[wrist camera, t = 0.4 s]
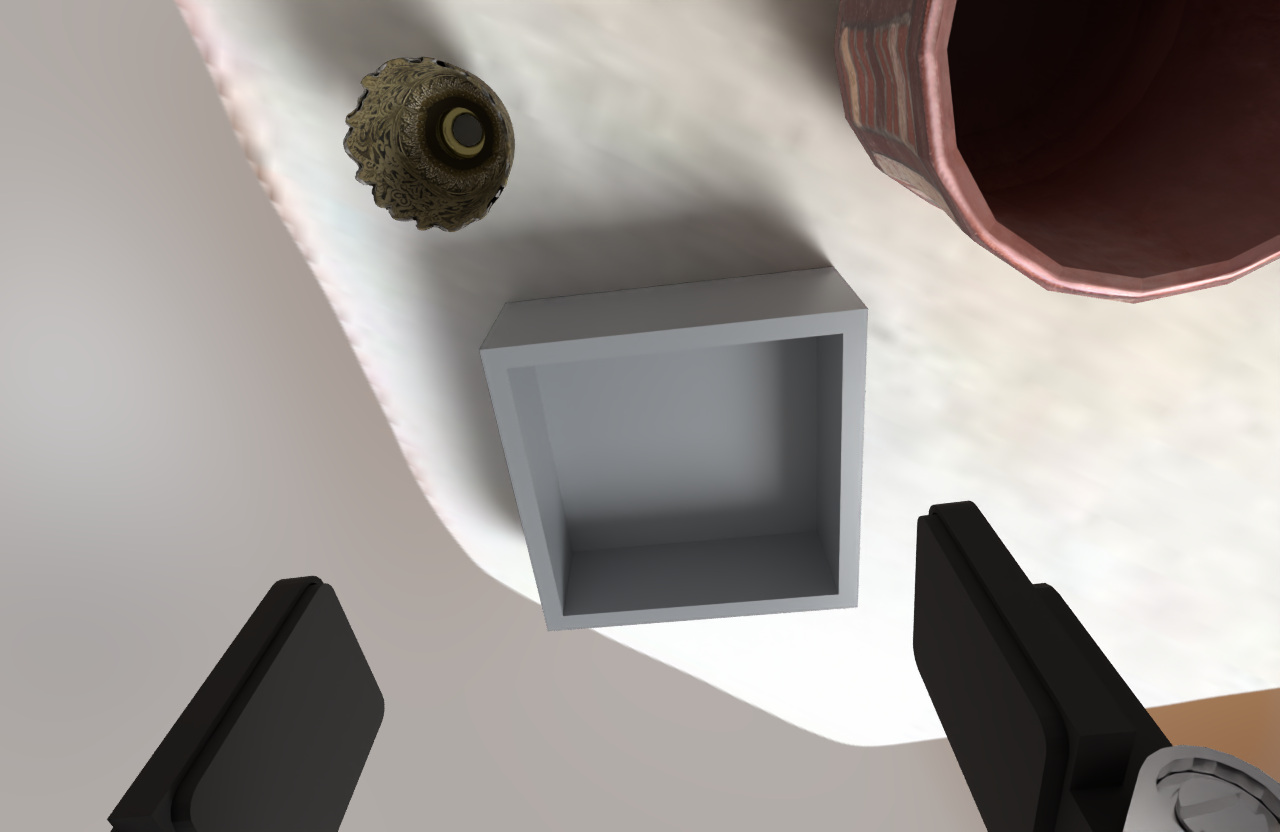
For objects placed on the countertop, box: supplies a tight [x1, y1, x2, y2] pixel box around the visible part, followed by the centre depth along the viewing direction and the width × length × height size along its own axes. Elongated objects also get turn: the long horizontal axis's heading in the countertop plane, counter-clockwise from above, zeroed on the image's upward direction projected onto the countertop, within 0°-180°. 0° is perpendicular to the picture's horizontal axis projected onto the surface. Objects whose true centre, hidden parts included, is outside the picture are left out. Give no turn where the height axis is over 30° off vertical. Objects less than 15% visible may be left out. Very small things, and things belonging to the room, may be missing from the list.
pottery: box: [834, 0, 1280, 304], centre depth 28 cm, size 18×18×18 cm
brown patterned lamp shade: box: [343, 57, 515, 232], centre depth 35 cm, size 8×7×8 cm
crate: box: [479, 267, 868, 631], centre depth 44 cm, size 20×20×8 cm
